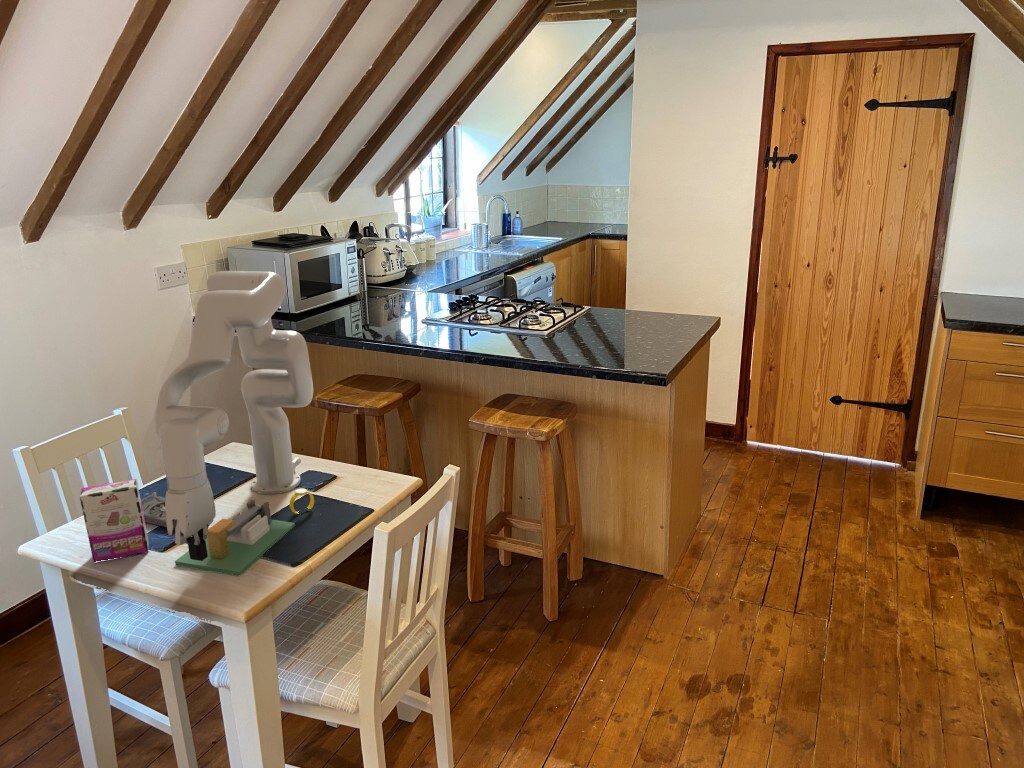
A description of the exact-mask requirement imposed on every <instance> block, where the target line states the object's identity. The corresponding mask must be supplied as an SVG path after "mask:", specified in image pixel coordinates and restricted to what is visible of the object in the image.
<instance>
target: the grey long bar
mask: <svg viewBox="0 0 1024 768" xmlns="http://www.w3.org/2000/svg"><path fill="white" fill-rule="evenodd" d="M261 505H262V504H256V503H255V504H254V505H253V506H252V507H250V508H249V509H246V510H245V511H244V512H243V513H240V516H238V517H237V518H236V519H235V520H234V522H235V525H233V526H232V527H231V528H230V529H228V530H227V531H226V536H227V537H228V536H230V535H231V534H232V533H233V532H235V531H236V530H237V529H238V528H240V527H241V526H242V525H244V524H245V523H246V522H247V521H249V520H250V519H251V518H252V517H254V516H255V515H256V514H257V513H259V512H260V511H261Z"/></svg>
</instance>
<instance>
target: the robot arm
mask: <svg viewBox="0 0 1024 768" xmlns="http://www.w3.org/2000/svg"><path fill="white" fill-rule="evenodd" d="M206 289H207V291H206V292H205V293H203V294H201V296H200V297H199V298H198V301H197V303H196V309H195V315H194V321H193V326H192V333H191V338H190V344H189V350H188V354H187V356H186V358H185V359H184V360H183V361H182V362H181V363H180V364H179V365H177V367H176V368H175V369H174V370H173V371H172V372H171V373H170V374H169V376H168V377H167V378H166V380H164V382H163V384H162V385H161V388H160V390H159V394H158V397H157V403H156V409H155V415H154V429H155V433H156V435H157V436H158V438H159V441H160V447H161V453H162V454H161V455H162V460H163V467H164V472H165V478H166V485H167V490H166V491H165V497H164V498H165V513H166V524H167V527H166V529H167V534H168V536H174V537H175V538H174V543H175V545H179V546H183V545H185V544H187V546H188V551H189V555H190V559H193V560H199V561H203V560H204V559H205V558H207V557H208V554H207V547H206V541H205V540H206V539H207V530H208V529H209V528H210V527H211V526H210V525H212V523H213V522H214V519H215V518H216V512H217V511H216V504H215V499H214V493H213V490H212V487H211V484H210V483H211V482H210V481H209V478H208V475H207V469H206V468H207V467H206V462H205V461H206V460H205V453H204V448H207V447H208V446H210V445H214V444H215V443H218V442H219V441H221V439H223V438H224V437H225V435H226V434H227V433H228V430H229V427H230V419H229V416H228V414H227V412H225V410H224V409H221V408H219V407H215V406H196V405H195V406H194V405H193V406H192V405H191V406H190V405H180V404H181V400H182V397H183V396H184V394H185V392H186V391H187V390H188V389H189V388H190V387H191V386H192V385H194V384H195V383H196V382H198V381H200V380H202V379H204V378H206V377H209V376H210V375H212V374H215V373H217V372H220V371H222V370H224V369H226V368H227V367H228V366H229V365H230V363H231V359H232V352H233V345H234V340H235V335H236V336H237V339H238V341H237V342H238V346H239V351H240V355H241V358H242V361H243V363H244V364H245V365H246V366H247V367H250V368H253V369H254V368H255V369H254V370H251V371H249V372H247V373H246V374H244V375H243V378H242V379H241V385H240V387H241V393H242V394H241V395H242V397H243V400H244V403H245V406H246V411H247V413H248V414H247V415H248V419H249V426H250V428H249V429H250V434H251V435H250V436H251V444H252V452H253V460H254V468H255V469H254V470H255V476H256V477H254V478H252V481H251V482H250V487H251V489H252V490H253V491H254V492H256V493H258V494H262V495H276V494H282V493H286V492H289V491H292V490H293V489H295V488H296V487H298V486H299V485H300V483H301V482H302V480H301V475H300V474H299V473H298V472H296V471H295V469H296V468H297V466H299V465H300V464H301V463H302V460H301V459H300V458H299V457H295V458H294V459H293V454H292V453H293V452H292V443H291V435H290V432H291V431H290V423H289V419H288V417H287V414H286V413H285V411H284V410H283V409H282V408H304V407H307V406H308V405H310V404H311V402H312V400H313V395H314V384H313V376H312V370H311V369H312V368H311V363H310V356H309V350H308V345H307V341H306V339H305V338H304V336H303V334H301V333H300V332H298V331H295V330H288V329H287V330H286V329H285V330H280V329H275V328H274V326H273V321H272V316H273V315H274V314H275V312H277V311H278V309H279V308H280V307H281V305H282V303H283V301H284V299H285V293H286V288H285V283H284V280H283V278H282V277H281V276H280V275H279V274H278V273H276V272H273V271H265V270H263V271H261V270H260V271H259V270H257V271H250V270H249V271H247V270H219V271H216V272H213V273H211V274H210V275H209V276H208V277H207V279H206Z"/></svg>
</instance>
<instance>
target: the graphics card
mask: <svg viewBox="0 0 1024 768" xmlns="http://www.w3.org/2000/svg"><path fill="white" fill-rule="evenodd" d="M141 504H142V509H143V514H144V520H145V523H146V522H147V523H149V524H152V525H153V524H154V525H157V526H161V527H163V528H167V524H166V513H165V497H163V496H160V495H158V496H157V492H152V493H151V494H149V495H148V496H146V497H144V498H142V499H141Z"/></svg>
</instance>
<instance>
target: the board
mask: <svg viewBox="0 0 1024 768" xmlns="http://www.w3.org/2000/svg"><path fill="white" fill-rule="evenodd" d="M254 504H256V500H255V499H251V500H249V501H248V502H247V503H246V507H247V509H246V510H248V509H249V508H250V507H252V506H253V505H254ZM260 505H261V511H260V512H259V513H257V514H256V515H255V516H254V517H252V518H251V519H250V520H249V521H247V522H246V523H245V524H244V525H242V526H241V527H240V528H238V529H237V530H236V531H235V532H233V533H232V534H231V535H230V536H228V537H227V543H228V550H229V554H228V555H227V556H225V557H224V558H223V559H218V558H212V557H210V551H209V545H208V538H207V539H206V540H205V541H206V547H207V554H208V557H207V558H205V559H204V560H203V561H199V560H193V559H190V555H189V550H188V551H186V552H185V553H184V554H182V555H181V556H180V557H179V558H177V559H176V560H174V564H175V565H174V566H178V567H185V568H189V569H195V570H200V571H201V570H202V571H207V572H213V573H219V574H225V575H230V576H236V577H241V576H242V575H243V574H244V573H245V572H246V571H247V570H248V569H249V568H251V567H252V566H253V565H254V564H255V563H256V562H258V560H260V559H261V558H262V557H263V556H264V555H265V554H266V553H267V552H268V551H269V550H268V549H269V548H271V547H272V546H273V545H274V544H275V543H276V542H277V541H278V540H279V539H281V538H282V537H283V536H284V535H285V534H286V533H287V532H288V531H289V530H290V529H292V528H293V527H294V526H295V527H296V524H295V522H290V521H285V520H276V519H272V516H271V508H270V502H269V501H265V502H263V503H262V504H260ZM240 515H241V512H240V511H237V512H235V513H234V514H233V515H231V516H230V517H229V518H228V519H229V520H235V519H236V518H237V517H238V516H240ZM295 527H294V528H295ZM294 528H293V529H294ZM293 529H292V530H293ZM287 534H288V533H287ZM287 534H286V535H287ZM286 535H285V536H286ZM285 536H284V537H285ZM284 537H283V538H284ZM283 538H282V539H283ZM282 539H281V540H282ZM277 543H278V542H277ZM277 543H276V544H277ZM276 544H275V545H276ZM275 545H274V546H275ZM274 546H273V547H274ZM273 547H272V548H273ZM272 548H271V549H272ZM267 550H268V551H267ZM266 551H267V552H266ZM265 552H266V553H265ZM264 553H265V554H264ZM263 554H264V555H263Z"/></svg>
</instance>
